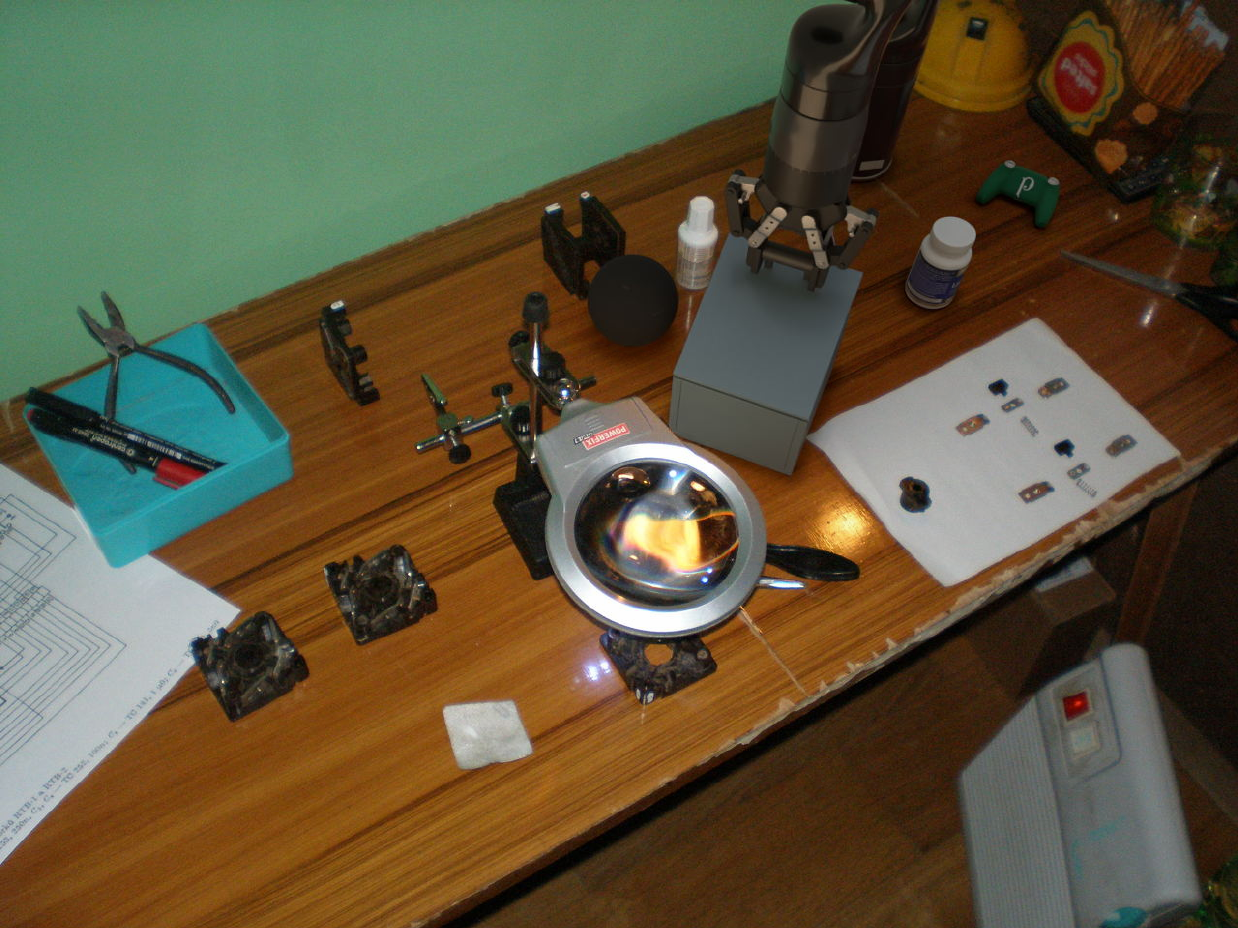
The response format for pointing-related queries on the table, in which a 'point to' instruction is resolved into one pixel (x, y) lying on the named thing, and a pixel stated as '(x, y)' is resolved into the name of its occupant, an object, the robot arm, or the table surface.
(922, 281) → the pill bottle
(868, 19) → the robot arm
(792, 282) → the lid
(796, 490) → the table surface
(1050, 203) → the gaming controller
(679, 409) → the grey box
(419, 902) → the table surface
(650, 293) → the black ball
